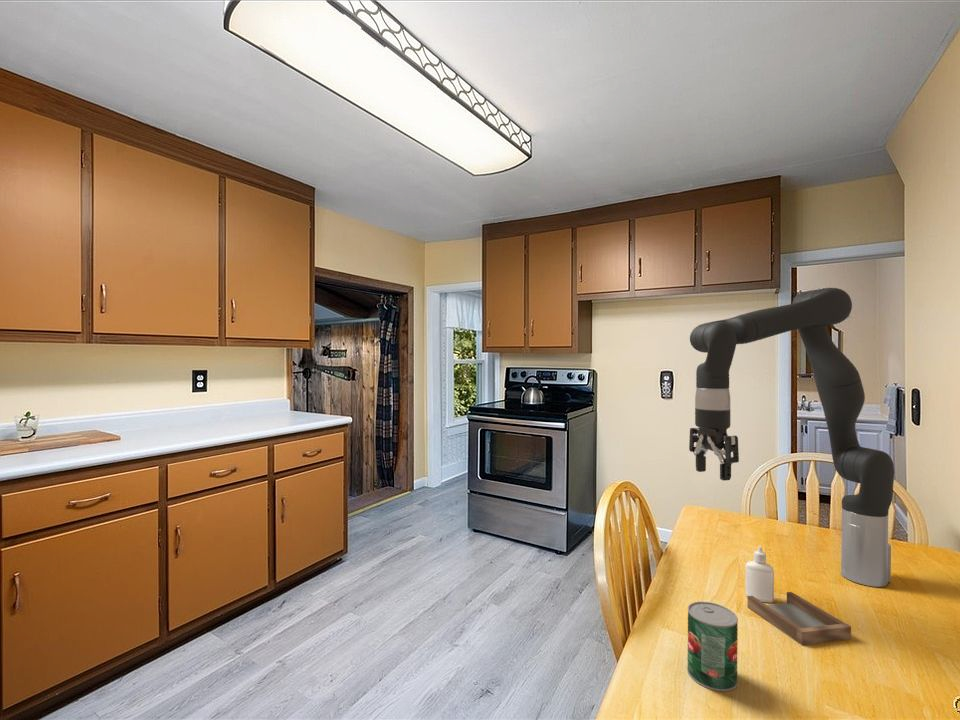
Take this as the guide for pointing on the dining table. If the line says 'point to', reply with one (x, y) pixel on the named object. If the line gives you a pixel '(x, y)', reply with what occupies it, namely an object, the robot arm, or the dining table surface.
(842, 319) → the robot arm
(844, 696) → the dining table surface
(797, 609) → the u rest
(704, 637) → the canned tomato
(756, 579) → the eye dropper bottle
